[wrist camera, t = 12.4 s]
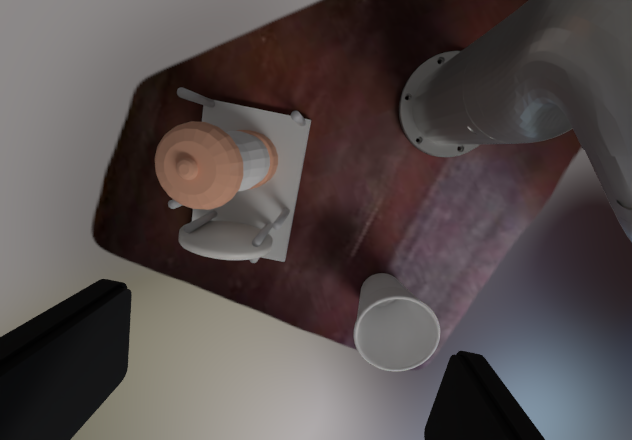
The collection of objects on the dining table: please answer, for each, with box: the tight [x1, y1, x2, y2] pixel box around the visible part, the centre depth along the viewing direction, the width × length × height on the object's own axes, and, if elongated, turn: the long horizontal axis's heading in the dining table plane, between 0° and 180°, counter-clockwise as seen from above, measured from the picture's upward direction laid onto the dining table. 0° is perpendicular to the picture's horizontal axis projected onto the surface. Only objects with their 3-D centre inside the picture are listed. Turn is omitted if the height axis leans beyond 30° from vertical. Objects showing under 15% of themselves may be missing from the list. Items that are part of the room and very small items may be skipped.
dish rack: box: [168, 87, 311, 263], centre depth 36 cm, size 14×20×12 cm
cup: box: [354, 273, 440, 371], centre depth 40 cm, size 10×10×11 cm
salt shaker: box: [155, 121, 278, 210], centre depth 31 cm, size 7×7×19 cm
